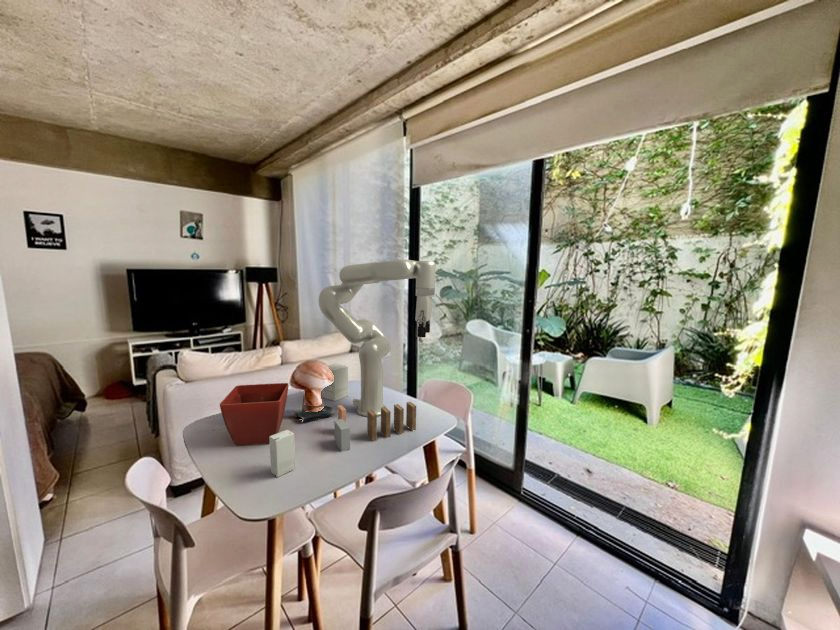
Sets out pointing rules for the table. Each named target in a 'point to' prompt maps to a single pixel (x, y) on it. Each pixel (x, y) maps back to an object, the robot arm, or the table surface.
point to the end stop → (342, 434)
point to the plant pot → (254, 412)
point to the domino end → (341, 413)
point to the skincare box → (282, 452)
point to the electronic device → (315, 414)
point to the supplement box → (337, 383)
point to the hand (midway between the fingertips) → (423, 334)
